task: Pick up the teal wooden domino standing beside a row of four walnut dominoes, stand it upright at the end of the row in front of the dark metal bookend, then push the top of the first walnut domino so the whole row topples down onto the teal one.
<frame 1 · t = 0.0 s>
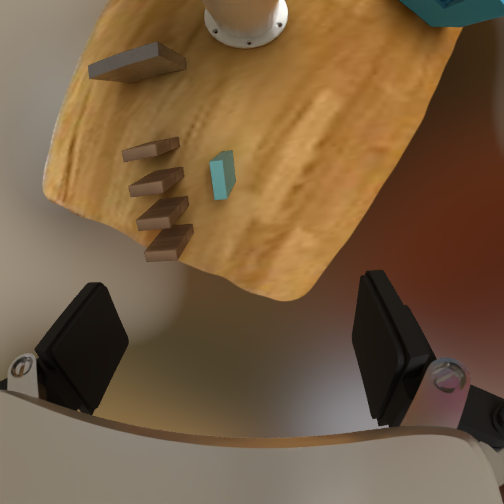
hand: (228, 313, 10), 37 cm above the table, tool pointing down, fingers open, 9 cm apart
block: (419, 5, 27), on the table
walnut tile 1: (179, 229, 49), on the table
teal tile: (229, 166, 43), on the table
walnut tile 2: (174, 202, 47), on the table
walnut tile 3: (169, 173, 44), on the table
bookend: (156, 70, 36), on the table
walnut tile 4: (164, 144, 42), on the table
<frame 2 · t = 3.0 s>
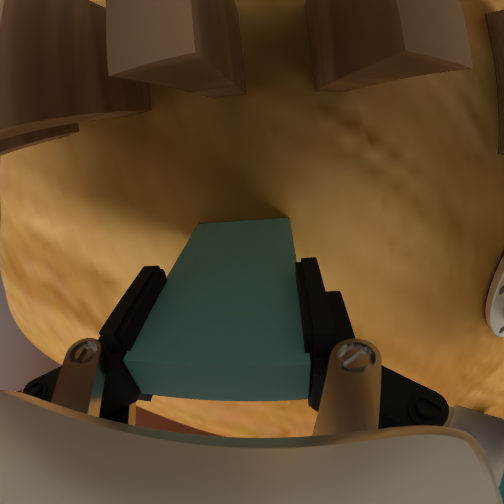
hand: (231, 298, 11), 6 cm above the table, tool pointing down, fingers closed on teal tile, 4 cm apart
walnut tile 1: (64, 97, 12), on the table
teal tile: (244, 234, 16), on the table, touching gripper
walnut tile 2: (133, 71, 12), on the table
walnut tile 3: (225, 51, 11), on the table
walnut tile 4: (326, 46, 11), on the table
when the fingers open (7 cm above the table, at t = 9.1 s): teal tile stays where it is, on the table.
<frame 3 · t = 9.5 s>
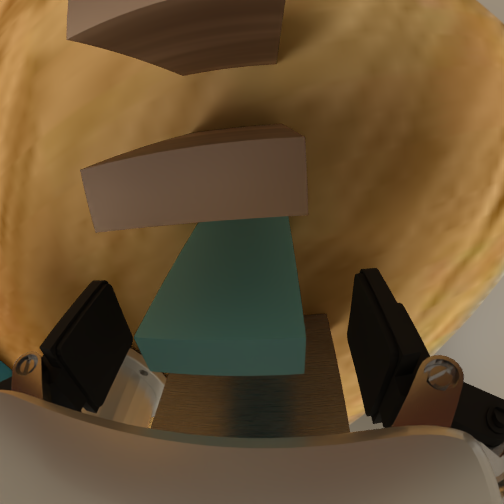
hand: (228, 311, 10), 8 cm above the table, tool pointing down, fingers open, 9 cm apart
teal tile: (245, 226, 17), on the table
walnut tile 3: (227, 55, 12), on the table
bookend: (256, 328, 20), on the table
walnut tile 4: (236, 141, 15), on the table
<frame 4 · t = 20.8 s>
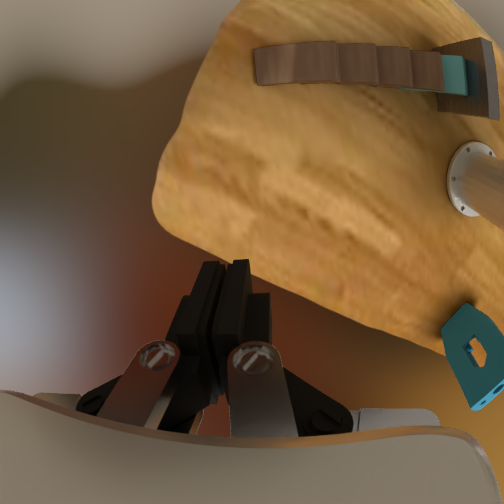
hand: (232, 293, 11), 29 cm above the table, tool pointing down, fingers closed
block: (457, 319, 48), on the table
walnut tile 1: (258, 67, 30), point 1 cm above the table, tilted 67°, touching walnut tile 2
teal tile: (398, 72, 29), on the table, tilted 37°, touching bookend, walnut tile 4
walnut tile 2: (298, 65, 30), point 1 cm above the table, tilted 64°, touching walnut tile 1, walnut tile 3
walnut tile 3: (334, 65, 29), point 1 cm above the table, tilted 59°, touching walnut tile 2, walnut tile 4
bookend: (441, 80, 28), on the table
walnut tile 4: (370, 68, 29), point 1 cm above the table, tilted 48°, touching teal tile, walnut tile 3
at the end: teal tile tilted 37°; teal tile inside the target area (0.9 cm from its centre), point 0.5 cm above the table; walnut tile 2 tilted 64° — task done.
